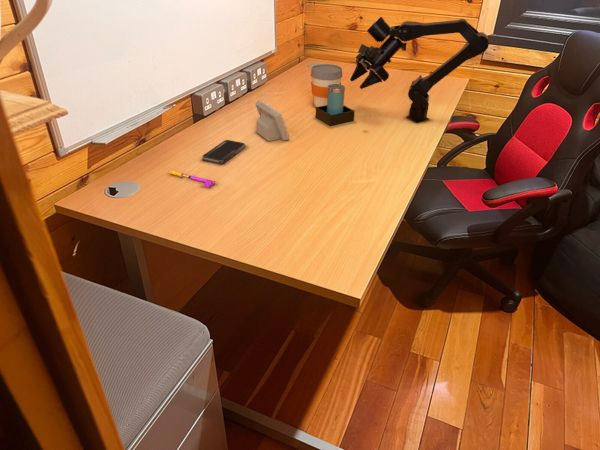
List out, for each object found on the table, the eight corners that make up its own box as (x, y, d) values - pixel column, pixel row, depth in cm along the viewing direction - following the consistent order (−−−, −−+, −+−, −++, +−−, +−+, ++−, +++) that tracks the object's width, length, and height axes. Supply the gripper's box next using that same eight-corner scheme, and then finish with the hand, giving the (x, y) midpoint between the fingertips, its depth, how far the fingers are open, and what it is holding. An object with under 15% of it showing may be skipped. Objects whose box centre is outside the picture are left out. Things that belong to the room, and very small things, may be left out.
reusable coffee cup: (305, 108, 189) (306, 70, 180) (316, 98, 198) (317, 62, 190) (334, 112, 185) (336, 74, 177) (344, 102, 195) (346, 66, 186)
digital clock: (290, 141, 161) (290, 112, 155) (265, 145, 158) (264, 115, 152) (276, 125, 174) (276, 96, 168) (253, 127, 171) (251, 99, 165)
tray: (338, 113, 184) (339, 102, 182) (353, 122, 177) (354, 110, 174) (315, 118, 179) (315, 107, 177) (330, 127, 172) (330, 115, 170)
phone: (200, 156, 148) (226, 139, 159) (201, 159, 148) (226, 142, 160) (222, 161, 145) (246, 143, 156) (222, 164, 146) (246, 146, 157)
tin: (336, 115, 181) (338, 83, 174) (346, 120, 177) (348, 87, 170) (323, 118, 179) (324, 85, 172) (332, 123, 174) (334, 90, 167)
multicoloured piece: (216, 183, 136) (171, 172, 141) (215, 180, 135) (170, 169, 140) (211, 189, 134) (166, 177, 140) (210, 186, 133) (165, 174, 139)
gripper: (362, 30, 172) (333, 63, 175) (384, 42, 157) (351, 77, 161) (380, 51, 178) (351, 82, 182) (402, 64, 164) (370, 97, 167)
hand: (355, 84), depth 173 cm, fingers open, 9 cm apart
